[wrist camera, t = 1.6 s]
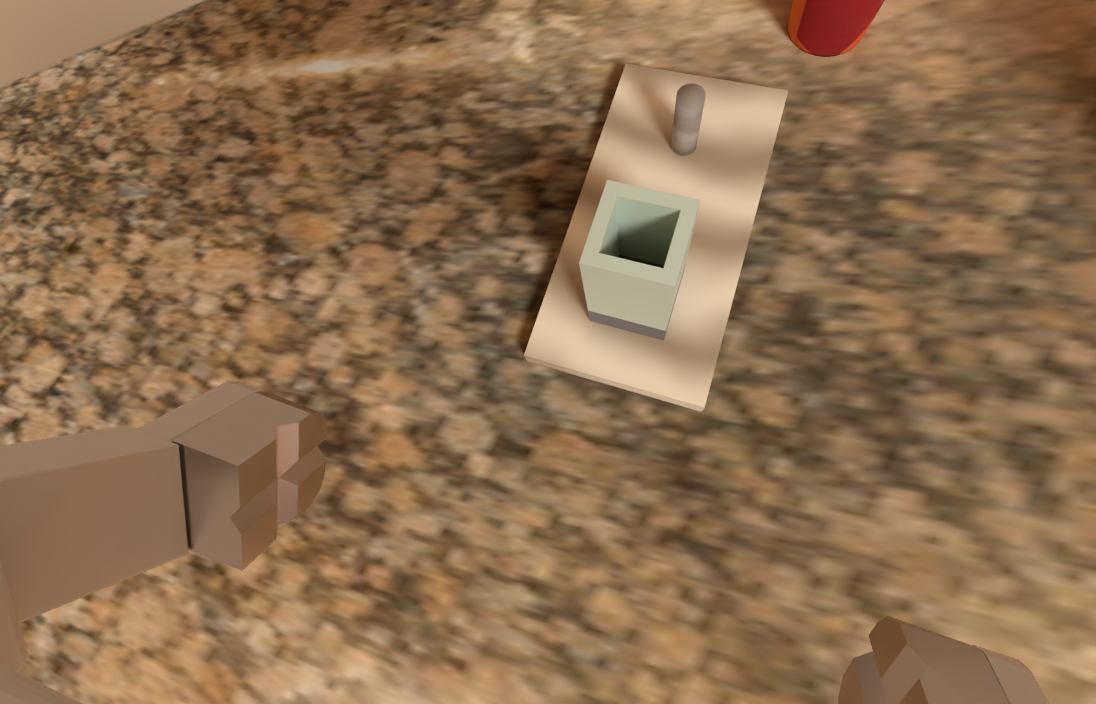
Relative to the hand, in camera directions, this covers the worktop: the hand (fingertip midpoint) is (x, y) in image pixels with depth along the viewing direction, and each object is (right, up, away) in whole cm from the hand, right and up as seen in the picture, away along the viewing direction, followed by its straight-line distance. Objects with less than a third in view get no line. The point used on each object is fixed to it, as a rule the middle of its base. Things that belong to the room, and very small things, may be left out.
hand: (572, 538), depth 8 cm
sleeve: (+6, +6, +30) cm, 31 cm away
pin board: (+8, +11, +32) cm, 35 cm away
